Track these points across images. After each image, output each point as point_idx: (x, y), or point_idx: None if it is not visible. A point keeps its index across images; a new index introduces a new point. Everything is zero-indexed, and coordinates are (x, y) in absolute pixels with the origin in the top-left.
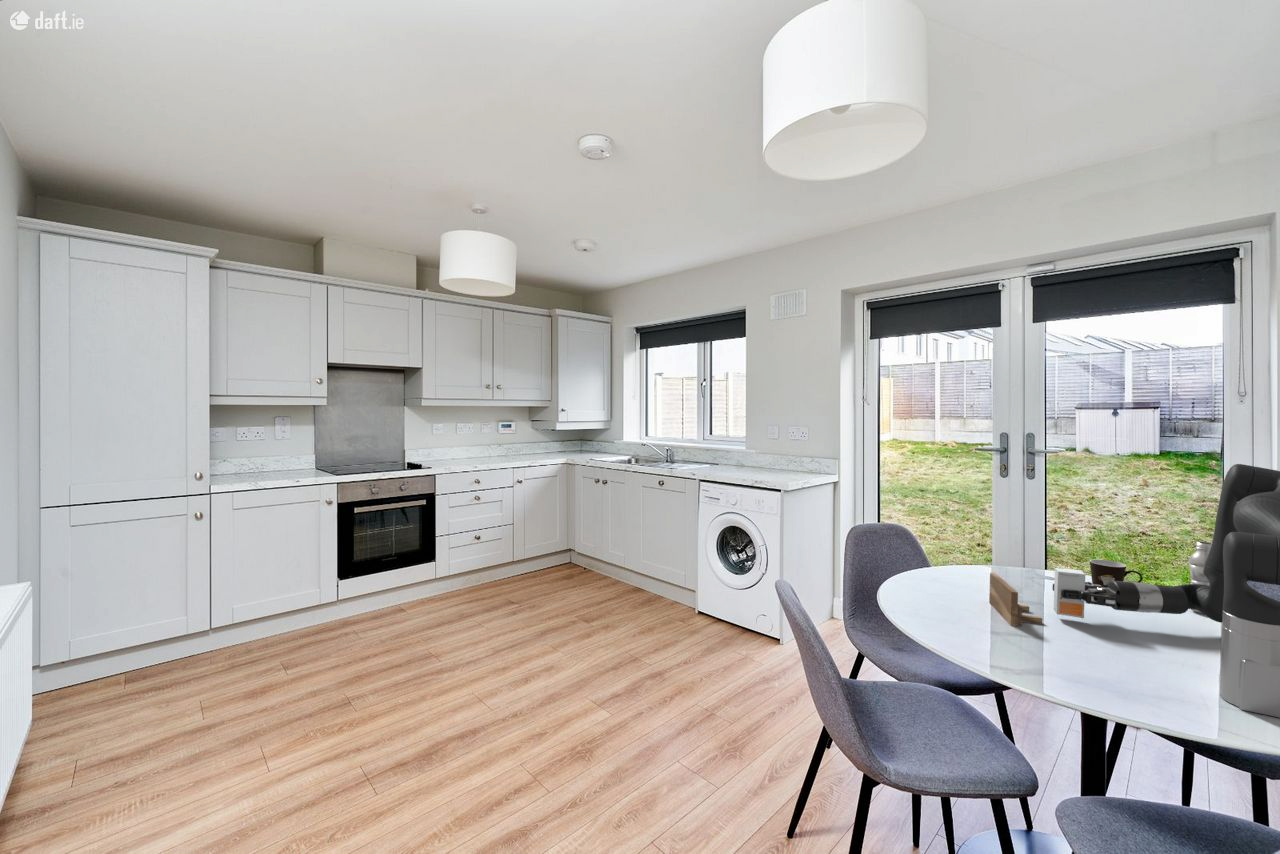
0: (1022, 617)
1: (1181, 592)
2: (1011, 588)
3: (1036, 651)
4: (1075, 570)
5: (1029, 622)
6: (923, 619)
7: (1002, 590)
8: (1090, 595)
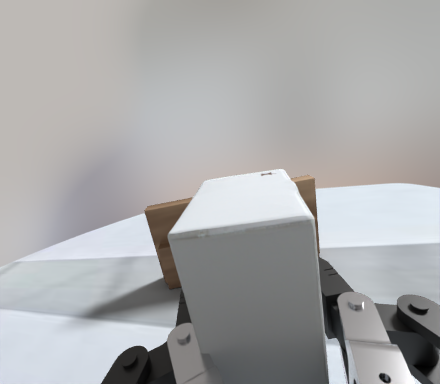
0: None
1: None
2: (176, 203)
3: (34, 303)
4: (271, 199)
5: None
6: None
7: None
8: (112, 375)
